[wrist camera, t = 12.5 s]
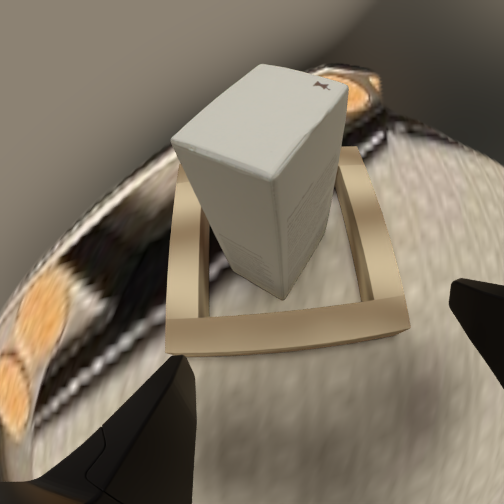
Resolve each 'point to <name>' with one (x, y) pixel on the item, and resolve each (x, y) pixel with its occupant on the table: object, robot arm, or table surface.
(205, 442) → the table surface
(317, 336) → the wooden picture frame
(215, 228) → the skincare box
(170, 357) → the robot arm
